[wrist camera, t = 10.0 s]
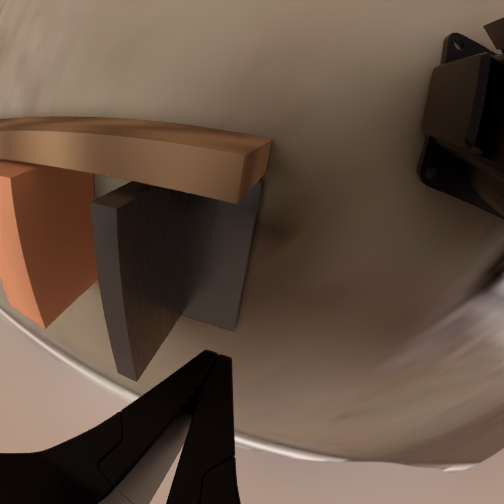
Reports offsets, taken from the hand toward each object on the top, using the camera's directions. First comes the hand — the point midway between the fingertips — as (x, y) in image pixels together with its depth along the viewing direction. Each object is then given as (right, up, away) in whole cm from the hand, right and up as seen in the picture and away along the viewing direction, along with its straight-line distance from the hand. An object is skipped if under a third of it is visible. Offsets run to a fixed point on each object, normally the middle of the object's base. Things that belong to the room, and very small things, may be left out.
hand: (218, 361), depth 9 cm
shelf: (-10, +6, +7) cm, 13 cm away
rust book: (-9, +6, +7) cm, 13 cm away
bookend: (-1, +3, +5) cm, 7 cm away
